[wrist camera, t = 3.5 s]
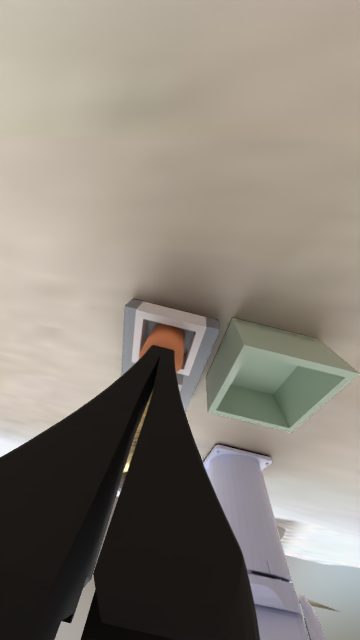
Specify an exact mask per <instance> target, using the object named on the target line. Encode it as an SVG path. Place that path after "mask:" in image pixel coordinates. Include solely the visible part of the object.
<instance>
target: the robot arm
mask: <svg viewBox="0 0 360 640" xmlns="http://www.w3.org/2000/svg"><path fill="white" fill-rule="evenodd" d="M152 390H153V392H152ZM151 393H152V397H151V400H150V403H149V406H148V409H147V412H146V416H145V419H144V422H143V425H142V428H141V431H140V434H139V437H138V440H137V444H136V447H135V450H134V453H133V456H132V459H131V462H130V465H129V468H128V471H127V474H126V477H125V480H124V483H123V486H122V489H121V492H120V495H119V498H118V502H117V504H116V507H115V510H114V514H113V516H112V519H111V522H110V525H109V528H108V531H107V534H106V537H105V540H104V543H103V547H102V549H101V552H100V555H99V558H98V561H97V557H98V554H99V551H100V548H101V544H102V541H103V538H104V534H105V531H106V528H107V524H108V521H109V518H110V514H111V511H112V508H113V504H114V501H115V498H116V495H117V491H118V488H119V485H120V482H121V478H122V475H123V472H124V469H125V465H126V462H127V459H128V456H129V452H130V449H131V446H132V443H133V440H134V437H135V434H136V431H137V428H138V426H139V423H140V421H141V418H142V416H143V413H144V411H145V408H146V405H147V403H148V400H149V398H150V395H151ZM272 462H273V461H272V458H271V457H267V456H263V455H259V454H255V453H251V452H247V451H243V450H238V449H234V448H230V447H226V446H222V445H216V446H215V447H214V448H213V450H212V451H211V453H210V454H209V455H208V457H207V458H206V459H205V461H204V462H202V459H201V457H200V454H199V451H198V449H197V446H196V444H195V441H194V438H193V435H192V432H191V430H190V427H189V424H188V420H187V417H186V414H185V411H184V407H183V403H182V400H181V395H180V391H179V387H178V381H177V376H176V369H175V351H174V350H172V349H168V348H164V347H160V346H156V345H152V346H150V348H149V349H148V350H147V351H146V353H145V354H144V355H143V356H142V357H141V358H140V359H139V360H138V361H137V362H136V363H135V364H134V365H133V366H132V367H131V368H130V369H129V370H128V371H127V372H125V373H124V374H123V375H122V376H121V377H120V378H119V379H117V380H116V381H115V382H114V383H113V384H112V385H110V386H109V387H108V388H107V389H105V390H104V391H103V392H101V393H100V394H99V395H97V396H96V397H95V398H94V399H92V400H91V401H89V402H88V403H86V404H85V405H84V406H82V407H81V408H79V409H78V410H77V411H75V412H74V413H72V414H71V415H69V416H68V417H66V418H65V419H63V420H62V421H60V422H58V423H57V424H55V425H54V426H52V427H50V428H49V429H47V430H46V431H44V432H42V433H41V434H39V435H37V436H36V437H34V438H33V439H31V440H29V441H28V442H26V443H24V444H23V445H21V446H19V447H18V448H16V449H14V450H13V451H11V452H9V453H7V454H5V455H4V456H2V457H0V640H54V639H55V637H56V634H57V631H58V628H59V625H60V623H61V621H64V622H68V623H71V622H72V619H73V617H74V613H75V611H76V608H77V604H78V602H79V598H80V596H81V593H82V590H83V588H84V587H85V585H86V584H87V583H88V582H89V581H90V580H91V578H92V574H93V575H94V581H95V588H96V590H95V593H94V596H93V600H92V603H91V606H90V610H89V613H88V617H87V620H86V624H85V627H84V630H83V634H82V637H81V640H309V638H310V640H326V639H325V636H324V633H323V630H322V627H321V624H320V621H319V619H318V616H317V613H316V611H315V610H314V608H313V607H312V606H311V604H310V603H308V601H307V598H306V597H305V596H304V595H299V599H300V602H301V606H302V609H303V613H304V617H305V618H304V620H305V623H304V620H303V616H302V613H301V609H300V605H299V602H298V598H297V594H296V591H295V588H294V585H293V583H292V580H291V577H290V573H289V569H288V566H287V562H286V559H285V555H284V551H283V548H282V544H281V540H280V537H279V533H278V529H277V526H276V522H275V518H274V515H273V511H272V507H271V504H270V500H269V496H268V493H267V489H266V485H265V482H264V478H263V474H262V470H264V469H265V468H266V467H267V466H269V465H270V464H271V463H272ZM96 561H97V564H96ZM95 564H96V567H95ZM94 568H95V570H94ZM93 571H94V573H93ZM305 624H306V627H307V631H308V634H307V631H306V627H305ZM308 635H309V638H308Z"/></svg>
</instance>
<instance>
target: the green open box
mask: <svg viewBox="0 0 360 640" xmlns="http://www.w3.org/2000/svg"><path fill="white" fill-rule="evenodd" d="M359 374H360V373H359V372H358V371H356V370H355V369H354V368H353V367H351V366H350V365H349V364H348V363H347V362H345V361H344V360H343V359H342V358H341V357H339V356H338V355H337V354H336V353H335V352H333V351H332V350H331V349H330V348H328V347H327V346H326V345H325V344H324V343H322V342H321V341H320V340H319V339H316V338H312V337H308V336H304V335H300V334H296V333H292V332H288V331H284V330H280V329H276V328H272V327H268V326H264V325H260V324H256V323H252V322H248V321H244V320H240V319H236V318H232V320H231V322H230V324H229V326H228V329H227V331H226V333H225V335H224V338H223V340H222V342H221V344H220V347H219V349H218V351H217V353H216V356H215V358H214V360H213V362H212V365H211V367H210V369H209V371H208V374H207V376H206V390H207V409H208V413H212V414H217V415H221V416H225V417H229V418H233V419H237V420H241V421H245V422H249V423H253V424H258V425H262V426H266V427H270V428H274V429H278V430H282V431H286V432H290V433H292V432H293V431H295V430H296V429H297V428H298V427H299V426H300V425H301V424H303V423H304V422H305V421H306V420H307V419H308V418H310V417H311V416H312V415H313V414H314V413H315V412H316V411H318V410H319V409H320V408H321V407H322V406H323V405H325V404H326V403H327V402H328V401H329V400H330V399H331V398H333V397H334V396H335V395H336V394H337V393H338V392H340V391H341V390H342V389H343V388H344V387H345V386H346V385H348V384H349V383H350V382H351V381H352V380H353V379H355V378H356V377H357V376H358V375H359Z"/></svg>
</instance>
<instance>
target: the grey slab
mask: <svg viewBox="0 0 360 640" xmlns="http://www.w3.org/2000/svg"><path fill="white" fill-rule="evenodd" d="M159 323H162V324H166V325H170V326H174V327H178V328H181V329H182V330H183V332H184V334H185V338H186V339H185V347H184V355H183V362H182V367H181V369H180V370H179V371H178V372H177V373H176V376H177V381H178V387H179V391H180V395H181V400H182V403H183V407H184V411H185V413H186V411H187V408H188V406H189V403H190V401H191V399H192V396H193V394H194V391H195V389H196V387H197V384H198V382H199V380H200V377H201V375H202V372H203V370H204V368H205V365H206V363H207V360H208V358H209V356H210V353H211V351H212V348H213V346H214V344H215V341H216V339H217V337H218V334H219V332H220V327H219V322H218V320H216V319H212V318H208V317H204V316H200V315H196V314H192V313H188V312H184V311H180V310H176V309H172V308H168V307H164V306H160V305H156V304H152V303H148V302H144V301H140V300H136V299H132V300H131V301H130V302H129V303H128V304H126V305H125V310H124V332H123V354H122V375H123V374H124V373H125V372H127V371H128V370H129V369H130V368H131V367H132V366H133V365H134V364H135V363H136V362H137V361H138V360H139V359H140V358H139V355H140V352H141V350H142V348H143V346H144V344H145V342H146V340H147V338H148V336H149V335H150V333H151V331H152V329H153V328H154V327H155V326H156V325H157V324H159Z"/></svg>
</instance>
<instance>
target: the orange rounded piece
mask: <svg viewBox="0 0 360 640" xmlns="http://www.w3.org/2000/svg"><path fill="white" fill-rule="evenodd" d="M185 339H186V338H185V334H184V332H183V330H182V329H181V328H178V327H174V326H170V325H166V324H162V323H159V324H157V325H156V326H155V327H154V328H153V329H152V331H151V333H150V335H149V336H148V338H147V340H146V342H145V344H144V346H143V348H142V350H141V352H140V355H139V358H141V357H142V356H143V355H144V354H145V353H146V351H147V350H148V349H149V348H150V346H152V345H156V346H160V347H164V348H168V349H172V350H174V351H175V369H176V373H177V372H178V371H179V370H180V369H181V367H182V362H183V355H184V347H185Z"/></svg>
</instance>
